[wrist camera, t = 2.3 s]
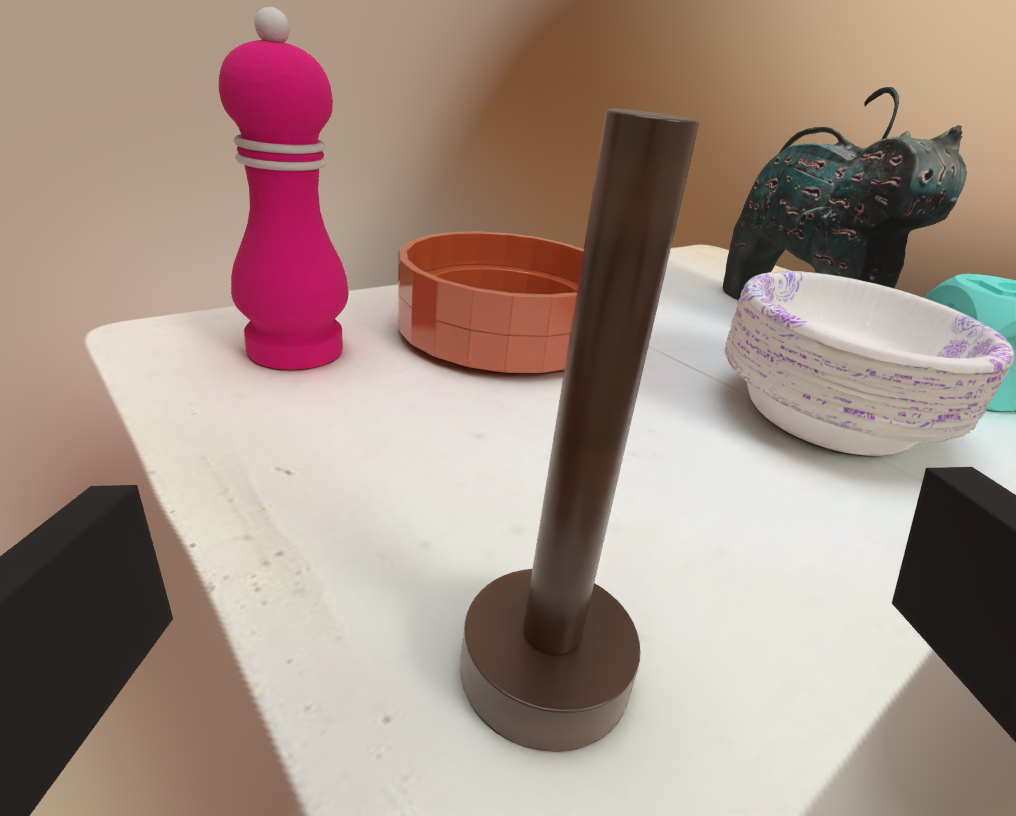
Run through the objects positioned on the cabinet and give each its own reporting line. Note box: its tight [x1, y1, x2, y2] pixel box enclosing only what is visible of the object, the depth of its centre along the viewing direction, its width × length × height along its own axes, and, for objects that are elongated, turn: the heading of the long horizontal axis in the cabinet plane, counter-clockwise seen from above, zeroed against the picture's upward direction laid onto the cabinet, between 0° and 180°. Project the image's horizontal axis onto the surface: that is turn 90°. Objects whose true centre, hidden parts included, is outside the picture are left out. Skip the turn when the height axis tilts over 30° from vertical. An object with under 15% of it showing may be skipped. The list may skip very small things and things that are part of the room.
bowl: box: [398, 232, 584, 373], centre depth 47 cm, size 16×16×6 cm
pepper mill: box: [219, 7, 348, 370], centre depth 38 cm, size 7×7×20 cm
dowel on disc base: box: [461, 109, 699, 751], centre depth 18 cm, size 6×6×18 cm
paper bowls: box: [725, 271, 1015, 456], centre depth 40 cm, size 15×15×8 cm
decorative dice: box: [924, 274, 1016, 412], centre depth 47 cm, size 8×8×8 cm
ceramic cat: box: [723, 87, 967, 299], centre depth 53 cm, size 20×6×20 cm, turn 14°
